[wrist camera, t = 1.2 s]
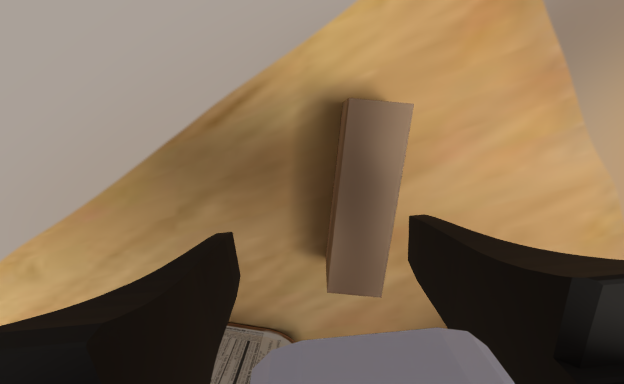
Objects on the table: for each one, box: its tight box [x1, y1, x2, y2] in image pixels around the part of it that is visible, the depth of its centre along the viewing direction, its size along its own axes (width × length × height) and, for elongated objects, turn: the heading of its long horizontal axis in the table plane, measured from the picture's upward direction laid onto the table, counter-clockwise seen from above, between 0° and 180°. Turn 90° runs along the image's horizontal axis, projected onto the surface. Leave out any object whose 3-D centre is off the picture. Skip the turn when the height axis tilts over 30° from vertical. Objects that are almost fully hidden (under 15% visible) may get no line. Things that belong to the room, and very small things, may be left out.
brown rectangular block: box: [326, 98, 414, 298], centre depth 20 cm, size 4×12×5 cm, turn 175°
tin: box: [210, 323, 296, 384], centre depth 21 cm, size 15×3×8 cm, turn 81°
